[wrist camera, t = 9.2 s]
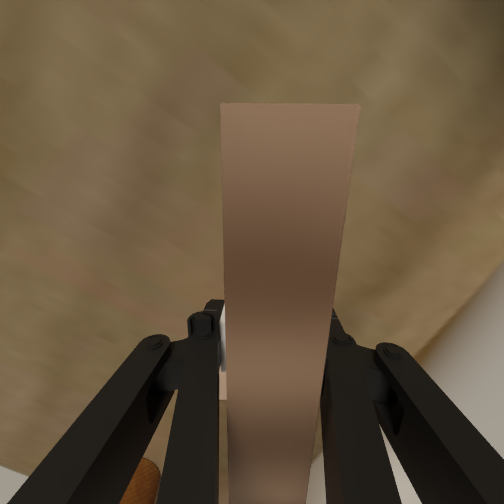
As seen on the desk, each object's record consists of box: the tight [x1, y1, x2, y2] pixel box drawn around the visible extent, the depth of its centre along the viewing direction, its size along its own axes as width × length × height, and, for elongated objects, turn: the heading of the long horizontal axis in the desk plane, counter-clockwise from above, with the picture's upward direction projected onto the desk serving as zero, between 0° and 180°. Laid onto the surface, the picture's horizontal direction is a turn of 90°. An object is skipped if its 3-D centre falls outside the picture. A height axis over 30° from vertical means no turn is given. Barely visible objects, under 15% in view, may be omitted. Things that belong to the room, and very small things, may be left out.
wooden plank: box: [220, 103, 361, 504], centre depth 13 cm, size 18×3×10 cm, turn 179°
